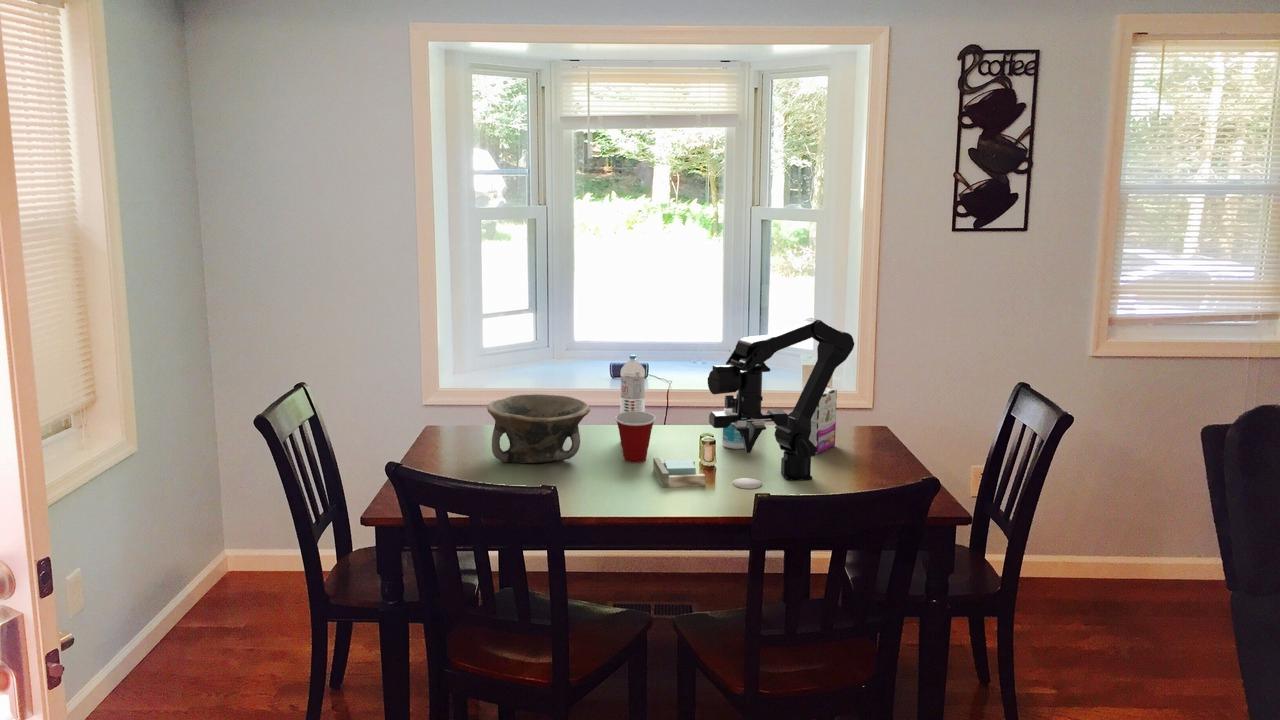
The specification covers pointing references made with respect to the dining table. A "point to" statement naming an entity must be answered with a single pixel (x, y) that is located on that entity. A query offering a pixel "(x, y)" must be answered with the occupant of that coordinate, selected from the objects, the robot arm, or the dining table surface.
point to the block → (680, 467)
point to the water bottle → (632, 386)
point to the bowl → (536, 427)
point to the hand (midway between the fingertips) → (748, 452)
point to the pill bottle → (732, 434)
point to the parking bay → (675, 476)
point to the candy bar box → (824, 421)
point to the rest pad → (746, 483)
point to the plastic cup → (635, 434)
